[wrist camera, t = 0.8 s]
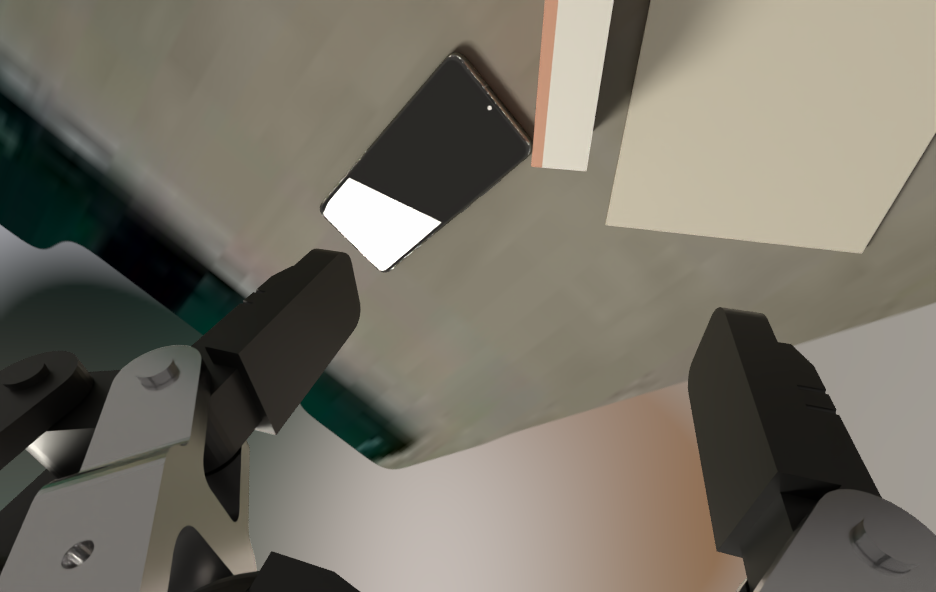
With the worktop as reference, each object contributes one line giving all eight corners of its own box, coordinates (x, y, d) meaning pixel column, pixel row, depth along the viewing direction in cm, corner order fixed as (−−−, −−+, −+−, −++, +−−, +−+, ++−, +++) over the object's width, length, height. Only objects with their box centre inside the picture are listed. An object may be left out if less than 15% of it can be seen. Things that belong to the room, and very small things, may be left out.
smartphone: (314, 210, 33) (454, 46, 23) (322, 204, 33) (459, 44, 24) (383, 277, 34) (537, 151, 25) (389, 270, 35) (540, 145, 26)
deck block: (571, -100, 19) (556, -136, 14) (629, -103, 19) (636, -141, 13) (548, 128, 25) (531, 166, 20) (592, 131, 25) (586, 171, 19)
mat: (681, -154, 18) (682, -157, 17) (1121, -187, 14) (1133, -192, 14) (605, 222, 27) (605, 224, 27) (858, 250, 24) (861, 253, 24)
